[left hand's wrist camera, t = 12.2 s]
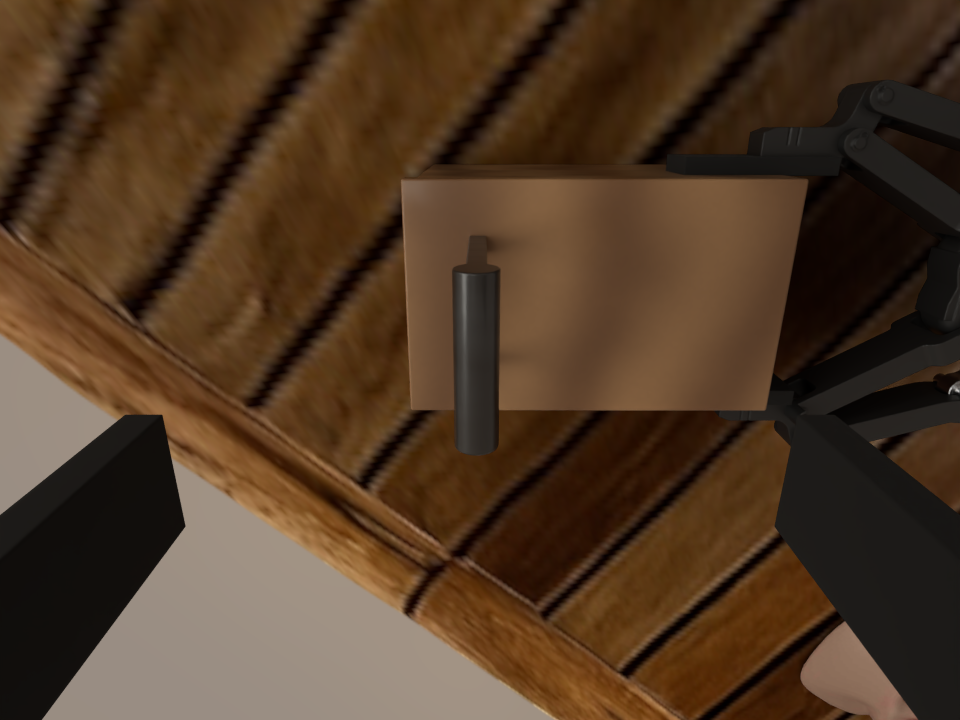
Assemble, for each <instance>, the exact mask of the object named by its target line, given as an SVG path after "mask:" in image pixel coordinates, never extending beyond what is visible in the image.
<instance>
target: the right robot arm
mask: <svg viewBox="0 0 960 720" xmlns="http://www.w3.org/2000/svg"><path fill="white" fill-rule="evenodd" d="M837 101H838V109H837V111H836V113H835V115H834V116H833V118H832V119H831V120H830V121H829V122H828V123H827V124H825V125H823V126H821V127H762V128H760V129H757V130H755V131H752V132H750V138H749V145H748V151H747V155H734V154H667V163H666V171H668V172H673V173H677V174H682V175H785V176H838V174H839V169H841V170H843V171H844V172H846V173H847V174H849V175H850V176H852V177H853V178H855V179H856V180H858V181H859V182H860V183H862V184H863V185H865V186H866V187H868V188H869V189H871V190H872V191H874V192H875V193H876V194H878V195H879V196H881V197H882V198H884V199H885V200H887V201H888V202H890V203H891V204H893V205H894V206H895V207H897V208H898V209H900V210H901V211H903V212H904V213H906V214H907V215H909V216H910V217H911V218H913V219H914V220H916V221H917V222H918V223H917V224H918V225H919V226H920V227H921V228H923V229H924V230H926V231H927V232H929V233H930V234H931V235H933V236H934V237H936V238H937V239H939V240H940V241H941V242H940V243H939V245H938V247H931V250H930V254H929V258H928V262H927V280H926V282H925V284H924V286H923V287H922V289H921V291H920V293H919V295H918V299H917V303H916V307H915V309H916V310H918V311H916V312H913V313H911V314H909V315H907V316H905V317H903V318H901V319H899V320H897V321H895V322H893V323H892V325H891V329H890V330H888V331H886V332H884V333H882V334H880V335H878V336H876V337H874V338H872V339H870V340H868V341H866V342H864V343H861V344H859V345H857V346H855V347H853V348H851V349H849V350H847V351H845V352H843V353H841V354H839V355H836V356H834V357H832V358H830V359H828V360H826V361H824V362H822V363H820V364H818V365H816V366H814V367H812V368H809V369H807V370H805V371H803V372H801V373H799V374H797V375H795V376H793V377H791V378H789V379H787V380H784V381H782V380H781V379H780V378H778V377H777V376H776V375H775V374H774V373H773V375H772V380H771V385H770V391H769V396H768V401H767V407H766V410H714V411H715V412H716V413H717V415H718V416H719V417H721V418H724V419H726V420H776V421H775V423H774V428H775V431H776V432H777V433H778V434H779V435H780V436H781V437H782V438H783V439H784V440H785V441H786V442H787V443H788V444H789V445H790V446H791V445H792V440H793V435H794V430H795V425H796V421H797V416H798V415H836V416H837V417H838V418H839V419H841V420H842V421H843V422H844V423H846V424H847V425H848V426H849V427H851V428H852V429H853V430H854V431H856V432H857V433H858V434H859V435H861V436H862V437H863V438H864V439H866V440H867V441H868V442H870V441H874V440H879V439H883V438H887V437H891V436H895V435H899V434H904V433H908V432H912V431H916V430H920V429H924V428H929V427H933V426H937V425H941V424H945V423H949V422H953V423H960V370H959V371H957V372H955V373H949V374H946V375H944V374H941V373H939V374H937V375H936V376H934V378H933V382H916V383H910V384H906V385H902V386H898V387H894V388H890V389H885V390H881V391H877V390H879V389H881V388H884V387H886V386H888V385H890V384H892V383H894V382H896V381H899V380H901V379H903V378H905V377H907V376H909V375H912V374H914V373H916V372H918V371H920V370H922V369H924V368H927V367H929V366H945V365H948V364H951V363H953V362H955V361H958V360H960V194H959V193H958V192H956V191H955V190H953V189H952V188H951V187H949V186H948V185H946V184H945V183H944V182H942V181H941V180H939V179H938V178H936V177H935V176H934V175H932V174H931V173H929V172H928V171H927V170H925V169H924V168H922V167H921V166H920V165H918V164H917V163H915V162H914V161H912V160H911V159H910V158H908V157H907V156H905V155H904V154H903V153H901V152H900V151H898V150H897V149H896V148H894V147H893V146H891V145H890V144H888V143H887V142H886V141H884V140H883V139H881V138H880V137H879V136H877V135H876V134H874V133H873V132H874V130H875V128H876V126H877V125H878V124H879V125H882V126H885V127H888V128H891V129H894V130H897V131H900V132H903V133H906V134H909V135H912V136H915V137H918V138H921V139H924V140H927V141H930V142H933V143H936V144H939V145H942V146H945V147H948V148H951V149H954V150H957V151H960V103H957V102H954V101H952V100H949V99H946V98H943V97H940V96H937V95H934V94H931V93H928V92H925V91H922V90H919V89H917V88H914V87H911V86H908V85H905V84H902V83H899V82H896V81H893V80H881V81H873V82H865V83H857V84H851V85H848V86H846V87H845V88H844V89H843V90H842V91H841V93H840V94H839V97H838V100H837ZM875 391H877V392H875Z"/></svg>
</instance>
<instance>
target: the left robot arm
mask: <svg viewBox="0 0 960 720" xmlns="http://www.w3.org/2000/svg"><path fill="white" fill-rule="evenodd" d="M184 528H185V522H184V517H183V512H182V507H181V502H180V498H179V493H178V488H177V483H176V478H175V474H174V469H173V464H172V459H171V454H170V449H169V445H168V440H167V435H166V430H165V425H164V421H163V416H162V415H124V416H123V417H122V418H121V419H119V420H118V421H117V422H116V423H114V424H113V425H112V426H111V427H109V428H108V429H107V430H106V431H104V432H103V433H102V434H101V435H99V436H98V437H97V438H96V439H94V440H93V441H92V442H91V443H89V444H88V445H87V446H86V447H85V448H83V449H82V450H81V451H80V452H78V453H77V454H76V455H75V456H73V457H72V458H71V459H70V460H68V461H67V462H66V463H65V464H63V465H62V466H61V467H60V468H58V469H57V470H56V471H55V472H53V473H52V474H51V475H50V476H48V477H47V478H46V479H45V480H43V481H42V482H41V483H40V484H38V485H37V486H36V487H35V488H33V489H32V490H31V491H30V492H28V493H27V494H26V495H25V496H23V497H22V498H21V499H20V500H18V501H17V502H16V503H15V504H13V505H12V506H11V507H10V508H8V509H7V510H6V511H5V512H3V513H2V514H1V515H0V720H42V719H43V717H44V716H45V715H46V713H47V712H48V711H49V709H50V708H51V707H52V705H53V704H54V703H55V701H56V700H57V699H58V697H59V696H60V695H61V693H62V692H63V691H64V689H65V688H66V686H67V685H68V684H69V682H70V681H71V680H72V678H73V677H74V676H75V674H76V673H77V672H78V670H79V669H80V668H81V666H82V665H83V664H84V662H85V661H86V660H87V658H88V657H89V656H90V654H91V653H92V651H93V650H94V649H95V647H96V646H97V645H98V643H99V642H100V641H101V639H102V638H103V637H104V635H105V634H106V633H107V631H108V630H109V629H110V627H111V626H112V625H113V623H114V622H115V621H116V619H117V618H118V617H119V615H120V614H121V612H122V611H123V610H124V608H125V607H126V606H127V604H128V603H129V602H130V600H131V599H132V598H133V596H134V595H135V594H136V592H137V591H138V590H139V588H140V587H141V586H142V584H143V583H144V582H145V580H146V579H147V578H148V576H149V575H150V574H151V572H152V571H153V569H154V568H155V567H156V565H157V564H158V563H159V561H160V560H161V559H162V557H163V556H164V555H165V553H166V552H167V551H168V549H169V548H170V547H171V545H172V544H173V543H174V541H175V540H176V539H177V537H178V536H179V534H180V533H181V532H182V530H183V529H184ZM775 528H776V529H777V530H778V532H779V533H780V535H781V536H782V537H783V539H784V540H785V541H786V543H787V544H788V545H789V547H790V548H791V549H792V551H793V552H794V553H795V555H796V556H797V557H798V559H799V560H800V561H801V563H802V564H803V565H804V567H805V568H806V569H807V571H808V572H809V574H810V575H811V576H812V578H813V579H814V580H815V582H816V583H817V584H818V586H819V587H820V588H821V590H822V591H823V592H824V594H825V595H826V596H827V598H828V599H829V600H830V602H831V603H832V604H833V606H834V607H835V608H836V610H837V611H838V613H839V614H840V615H841V617H842V618H843V619H844V621H845V622H846V623H847V625H848V626H849V627H850V629H851V630H852V631H853V633H854V634H855V635H856V637H857V638H858V639H859V641H860V642H861V643H862V645H863V646H864V648H865V649H866V650H867V652H868V653H869V654H870V656H871V657H872V658H873V660H874V661H875V662H876V664H877V665H878V666H879V668H880V669H881V670H882V672H883V673H884V674H885V676H886V677H887V678H888V680H889V681H890V682H891V684H892V685H893V687H894V688H895V689H896V691H897V692H898V693H899V695H900V696H901V697H902V699H903V700H904V701H905V703H906V704H907V705H908V707H909V708H910V709H911V711H912V712H913V713H914V715H915V716H916V717H917V719H918V720H960V515H959V514H958V513H957V512H955V511H954V510H953V509H952V508H950V507H949V506H948V505H947V504H945V503H944V502H943V501H942V500H940V499H939V498H938V497H937V496H935V495H934V494H933V493H932V492H930V491H929V490H928V489H927V488H925V487H924V486H923V485H922V484H920V483H919V482H918V481H917V480H915V479H914V478H913V477H912V476H910V475H909V474H908V473H907V472H905V471H904V470H903V469H902V468H900V467H899V466H898V465H897V464H895V463H894V462H893V461H892V460H890V459H889V458H888V457H887V456H885V455H884V454H883V453H882V452H880V451H879V450H878V449H877V448H876V447H874V446H873V445H872V444H871V443H869V442H868V441H867V440H866V439H864V438H863V437H862V436H861V435H859V434H858V433H857V432H856V431H854V430H853V429H852V428H851V427H849V426H848V425H847V424H846V423H844V422H843V421H842V420H841V419H839V418H838V417H837V416H836V415H798V416H797V421H796V425H795V430H794V435H793V440H792V445H791V449H790V454H789V459H788V464H787V469H786V474H785V478H784V483H783V488H782V493H781V498H780V502H779V507H778V512H777V517H776V522H775Z"/></svg>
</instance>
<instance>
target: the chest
mask: <svg viewBox="0 0 960 720" xmlns="http://www.w3.org/2000/svg"><path fill="white" fill-rule="evenodd" d="M418 177H647V178H797V177H792V176H785V175H682V174H677V173H673V172H668V171H666V165H565V164H435V165H433V166H432V167H430V168H429V169H428V170H426V171H425V172H424V173H422V174H421V175H420V176H418Z"/></svg>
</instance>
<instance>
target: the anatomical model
mask: <svg viewBox="0 0 960 720" xmlns="http://www.w3.org/2000/svg"><path fill="white" fill-rule="evenodd" d="M800 677H801V681H802V683H803V684H804V686H805V687H806V688H807V689H808V690H809V691H811V692H812V693H813V694H815V695H816V696H818V697H819V698H821V699H823V700H824V701H826V702H827V703H829V704H831V705H833V706H835V707H837V708H840V709H842V710H845V711H847V712H850V713H854V714H860V715H870V716H871V717H872V719H873V720H918V719H917V717H916V716H915V715H914V713H913V712H912V711H911V709H910V708H909V707H908V705H907V704H906V703H905V701H904V700H903V699H902V697H901V696H900V695H899V693H898V692H897V691H896V689H895V688H894V687H893V685H892V684H891V682H890V681H889V680H888V678H887V677H886V676H885V674H884V673H883V672H882V670H881V669H880V668H879V666H878V665H877V664H876V662H875V661H874V660H873V658H872V657H871V656H870V654H869V653H868V652H867V650H866V649H865V648H864V646H863V645H862V643H861V642H860V641H859V639H858V638H857V637H856V635H855V634H854V633H853V631H852V630H851V629H850V627H849V626H848V625H847V623H846V622H845V621H844V622H843V623H842V624H840V625H839V626H838V627H836V628H835V629H834V630H833V631H832V632H831V633H830V634H829V635H828V636H827V637H826V638H825V639H824V640H823V641H822V642H821V643H820V644H819V646H818V647H817V648H816V649H815V650H814V652H813V653H812V654H811V655H810V657H809V658H808V660H807V661H806V663H805V664H804V666H803V668H802V671H801V676H800Z"/></svg>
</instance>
